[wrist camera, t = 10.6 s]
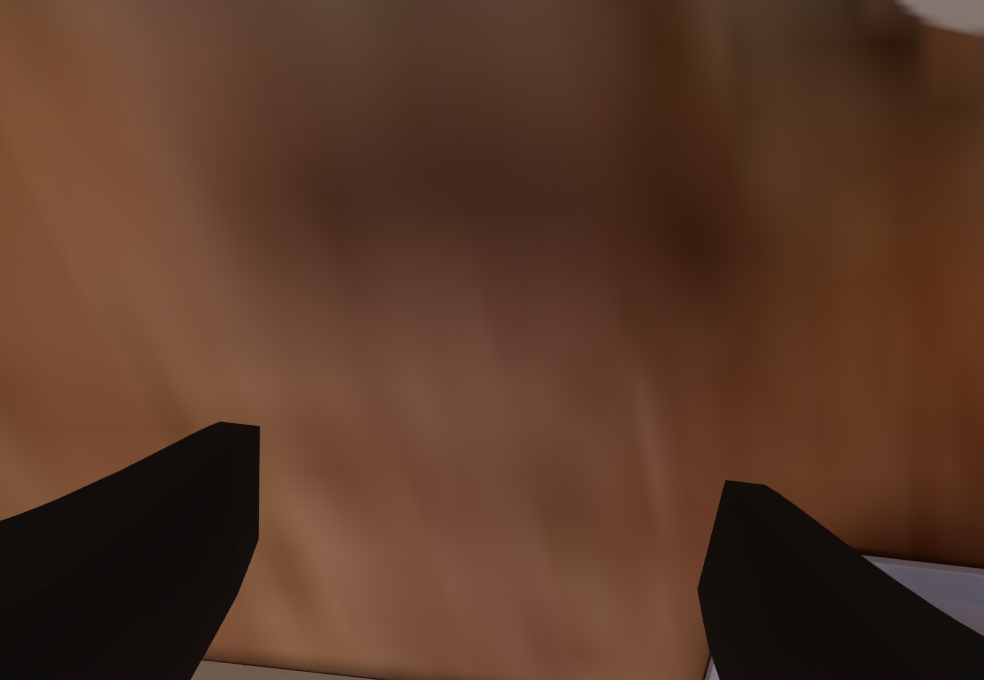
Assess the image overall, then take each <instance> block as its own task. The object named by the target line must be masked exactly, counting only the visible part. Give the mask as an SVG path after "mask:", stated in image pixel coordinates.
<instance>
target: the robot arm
mask: <svg viewBox="0 0 984 680" xmlns="http://www.w3.org/2000/svg"><path fill="white" fill-rule="evenodd" d="M259 456H260V426H254V425H245V424H236V423H228V422H218V423H215V424H213V425H210V426H208V427H206V428H204V429H202V430H200V431H197V432H195V433H193V434H191V435H189V436H187V437H185V438H184V439H182V440H180V441H178V442H176V443H174V444H172V445H170V446H168V447H166V448H164V449H162V450H160V451H158V452H156V453H154V454H152V455H150V456H148V457H146V458H144V459H142V460H140V461H138V462H136V463H134V464H132V465H130V466H128V467H126V468H124V469H122V470H120V471H118V472H116V473H114V474H112V475H110V476H107V477H105V478H103V479H101V480H98V481H96V482H94V483H92V484H90V485H87V486H85V487H83V488H81V489H79V490H76V491H74V492H72V493H70V494H68V495H65V496H63V497H61V498H59V499H56V500H54V501H52V502H49V503H47V504H44V505H42V506H39V507H37V508H34V509H32V510H29V511H26V512H24V513H21V514H19V515H16V516H13V517H10V518H7V519H5V520H2V521H0V680H191V678H192V676H193V675H194V673H195V671H196V669H197V667H198V666H199V664H200V662H201V660H202V659H203V657H204V655H205V653H206V651H207V650H208V648H209V646H210V644H211V642H212V641H213V639H214V637H215V635H216V633H217V631H218V630H219V628H220V626H221V624H222V622H223V620H224V619H225V617H226V615H227V613H228V611H229V609H230V608H231V606H232V604H233V602H234V600H235V598H236V596H237V594H238V592H239V589H240V587H241V584H242V582H243V579H244V577H245V574H246V572H247V569H248V566H249V564H250V561H251V558H252V556H253V553H254V550H255V548H256V545H257V542H258V540H259ZM698 595H699V600H700V606H701V611H702V617H703V622H704V627H705V632H706V637H707V641H708V646H709V650H710V653H711V660H710V663H709V667H708V671H707V674H706V678H705V680H984V569H978V568H969V567H961V566H952V565H943V564H934V563H926V562H917V561H908V560H900V559H891V558H882V557H873V556H865V555H860V554H859V553H858V552H856V551H855V550H854V549H852V548H851V547H850V546H848V545H847V544H846V543H844V542H843V541H842V540H840V539H839V538H838V537H837V536H835V535H834V534H833V533H831V532H830V531H829V530H827V529H826V528H825V527H823V526H822V525H821V524H819V523H818V522H817V521H815V520H814V519H813V518H812V517H810V516H809V515H808V514H806V513H805V512H804V511H802V510H801V509H800V508H798V507H797V506H796V505H794V504H793V503H792V502H790V501H789V500H787V499H786V498H785V497H783V496H782V495H780V494H779V493H777V492H776V491H774V490H773V489H771V488H769V487H768V486H766V485H763V484H754V483H745V482H737V481H728V480H725V484H724V488H723V491H722V495H721V499H720V503H719V507H718V511H717V515H716V519H715V523H714V527H713V530H712V534H711V538H710V542H709V546H708V550H707V554H706V558H705V562H704V566H703V570H702V573H701V577H700V581H699V585H698Z"/></svg>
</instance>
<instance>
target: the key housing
mask: <svg viewBox="0 0 984 680" xmlns="http://www.w3.org/2000/svg"><path fill="white" fill-rule="evenodd" d="M191 680H375V679H366V678H357V677H348V676H339V675H330V674H321V673H312V672H303V671H293V670H284V669H275V668H266V667H257V666H248V665H239V664H230V663H221V662H212V661H203V660H201V662H200V664H199V666H198V667H197V669H196V671H195V673H194V675H193V676H192V678H191Z"/></svg>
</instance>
